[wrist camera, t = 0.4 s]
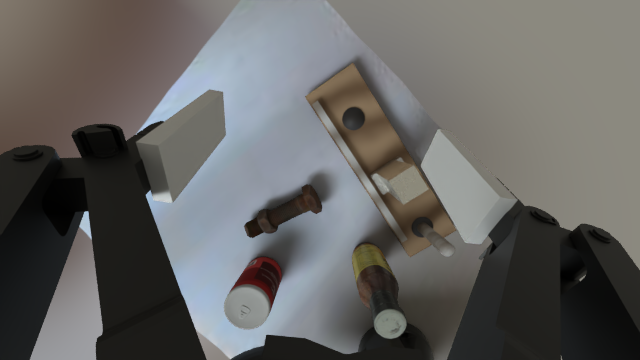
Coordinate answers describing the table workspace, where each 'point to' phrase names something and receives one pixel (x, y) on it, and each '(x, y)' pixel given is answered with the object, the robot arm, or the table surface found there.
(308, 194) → the bolt
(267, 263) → the canned food
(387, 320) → the sauce bottle
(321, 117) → the board
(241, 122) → the table surface
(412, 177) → the block
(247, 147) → the table surface
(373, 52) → the table surface
